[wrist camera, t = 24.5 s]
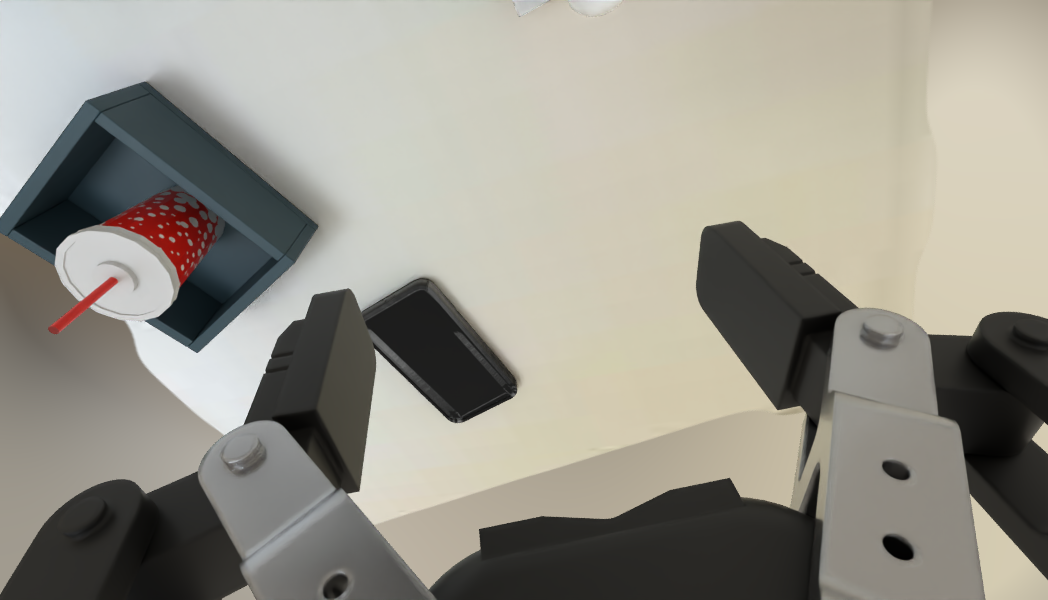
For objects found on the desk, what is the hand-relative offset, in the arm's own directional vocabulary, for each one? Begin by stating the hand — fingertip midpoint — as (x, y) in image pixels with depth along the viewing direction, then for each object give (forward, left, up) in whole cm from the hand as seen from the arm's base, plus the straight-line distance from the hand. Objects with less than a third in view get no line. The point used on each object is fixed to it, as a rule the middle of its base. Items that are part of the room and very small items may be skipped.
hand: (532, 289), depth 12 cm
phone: (+14, -19, -27) cm, 36 cm away
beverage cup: (-8, -23, -26) cm, 36 cm away
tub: (-8, -23, -27) cm, 36 cm away
